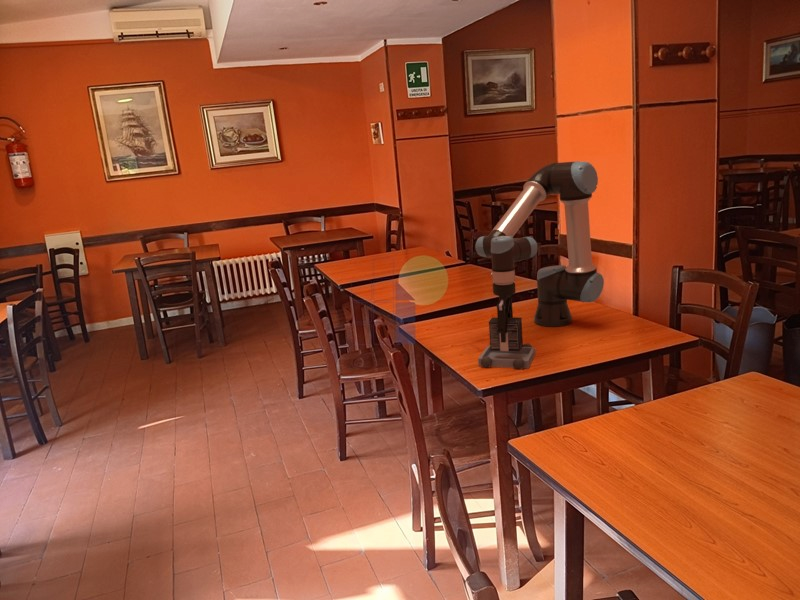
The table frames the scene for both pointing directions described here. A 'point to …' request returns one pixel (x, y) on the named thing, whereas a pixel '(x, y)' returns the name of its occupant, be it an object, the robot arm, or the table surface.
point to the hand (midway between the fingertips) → (506, 347)
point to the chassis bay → (507, 358)
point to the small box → (513, 334)
